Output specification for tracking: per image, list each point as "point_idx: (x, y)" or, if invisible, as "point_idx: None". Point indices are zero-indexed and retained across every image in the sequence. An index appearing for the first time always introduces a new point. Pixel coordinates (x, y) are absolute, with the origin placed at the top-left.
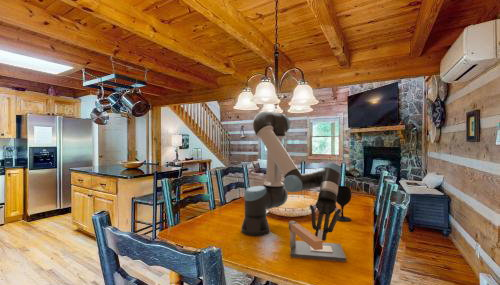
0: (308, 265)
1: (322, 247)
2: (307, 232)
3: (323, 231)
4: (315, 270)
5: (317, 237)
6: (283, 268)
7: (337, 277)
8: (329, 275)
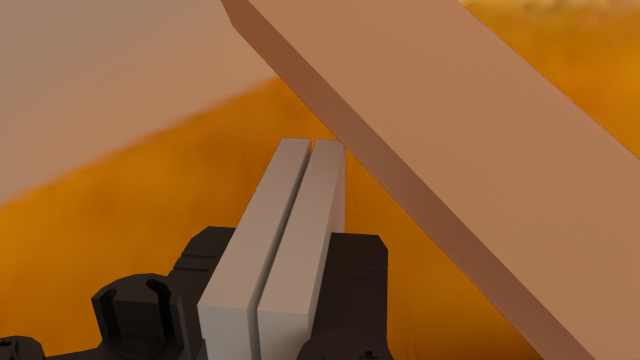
0: (430, 250)
1: (229, 13)
2: (554, 216)
3: (200, 328)
4: (353, 190)
5: (297, 42)
6: (612, 104)
7: (179, 161)
8: (237, 163)
